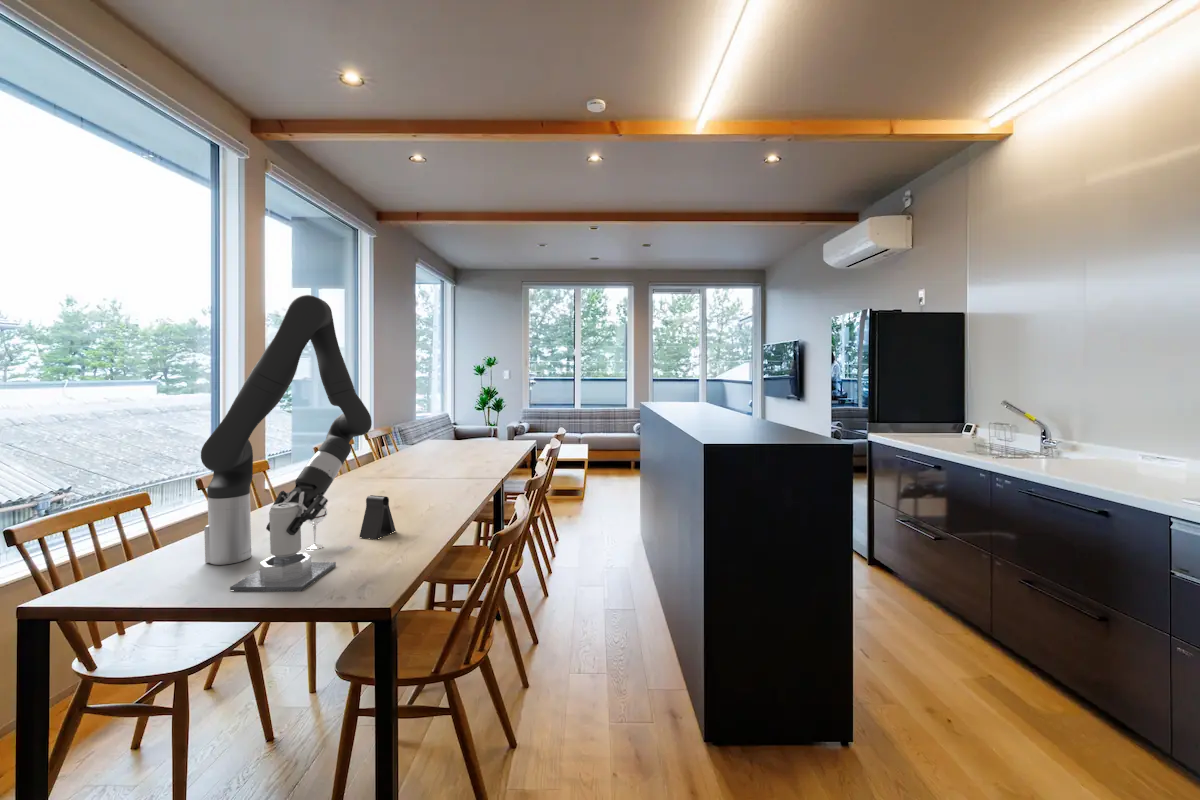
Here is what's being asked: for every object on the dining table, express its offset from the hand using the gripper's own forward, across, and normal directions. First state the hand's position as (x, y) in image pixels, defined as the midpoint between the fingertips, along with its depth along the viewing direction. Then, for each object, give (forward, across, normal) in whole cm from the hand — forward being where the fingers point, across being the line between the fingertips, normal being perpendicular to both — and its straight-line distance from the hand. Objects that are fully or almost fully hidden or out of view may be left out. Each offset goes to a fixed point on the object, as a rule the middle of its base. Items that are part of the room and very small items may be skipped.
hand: (279, 532), depth 127 cm
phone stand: (-18, -5, +35) cm, 39 cm away
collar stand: (+7, 0, +9) cm, 12 cm away
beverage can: (+3, 0, +6) cm, 6 cm away
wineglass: (-7, -13, +24) cm, 28 cm away
